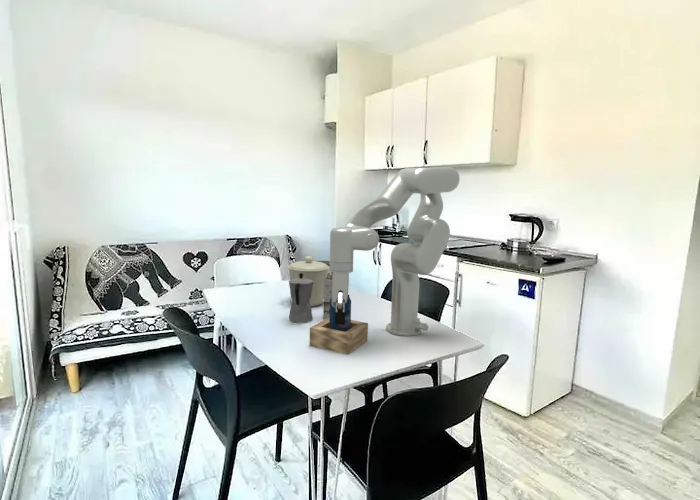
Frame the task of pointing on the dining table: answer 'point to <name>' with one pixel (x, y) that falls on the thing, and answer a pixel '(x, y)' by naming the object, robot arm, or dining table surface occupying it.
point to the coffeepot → (300, 299)
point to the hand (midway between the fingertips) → (340, 319)
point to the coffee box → (327, 296)
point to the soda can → (347, 316)
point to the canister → (311, 276)
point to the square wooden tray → (338, 336)
